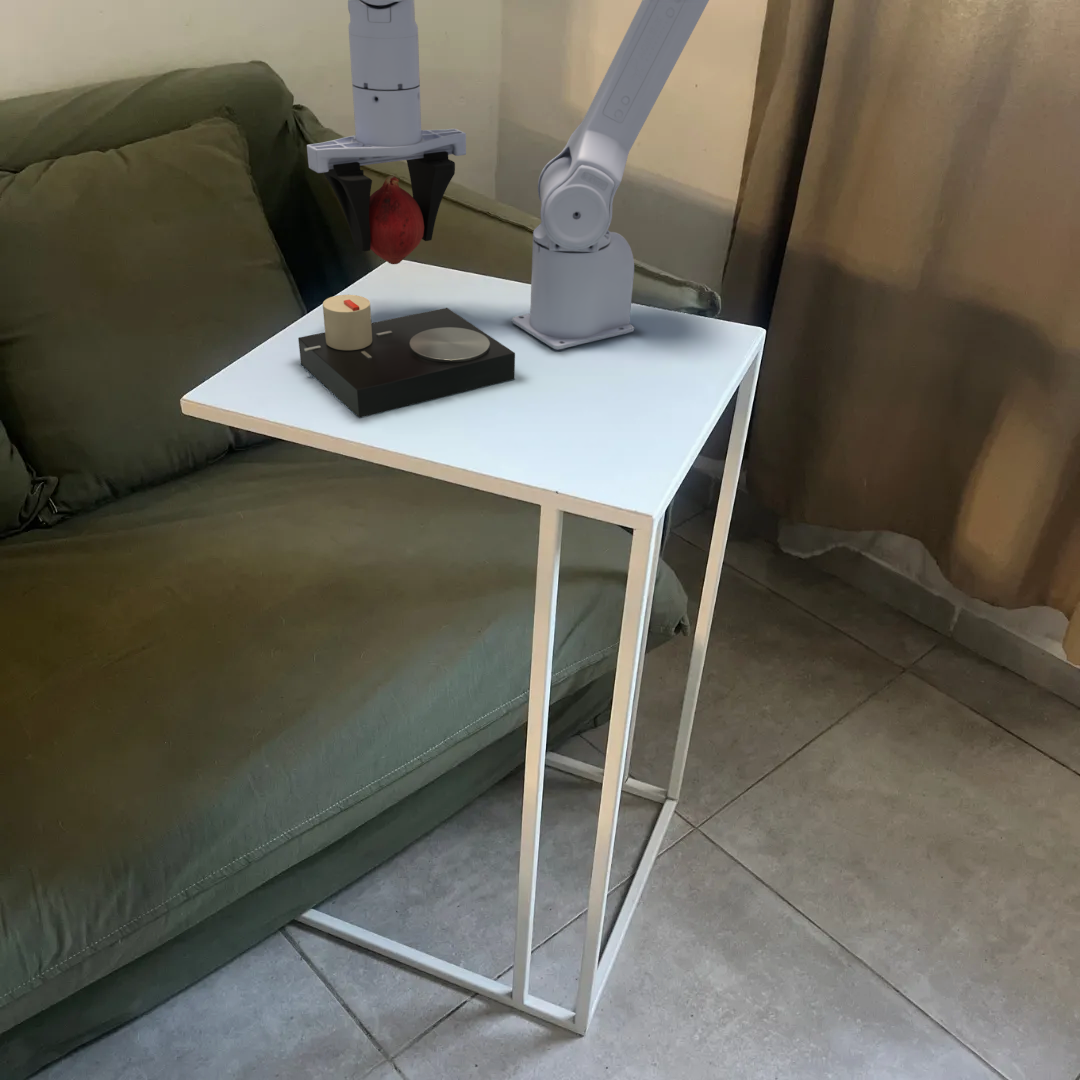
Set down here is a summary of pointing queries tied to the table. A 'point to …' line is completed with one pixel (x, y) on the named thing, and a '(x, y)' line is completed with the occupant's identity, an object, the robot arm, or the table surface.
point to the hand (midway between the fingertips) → (393, 242)
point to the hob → (401, 365)
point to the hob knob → (347, 322)
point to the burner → (449, 345)
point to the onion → (394, 222)
